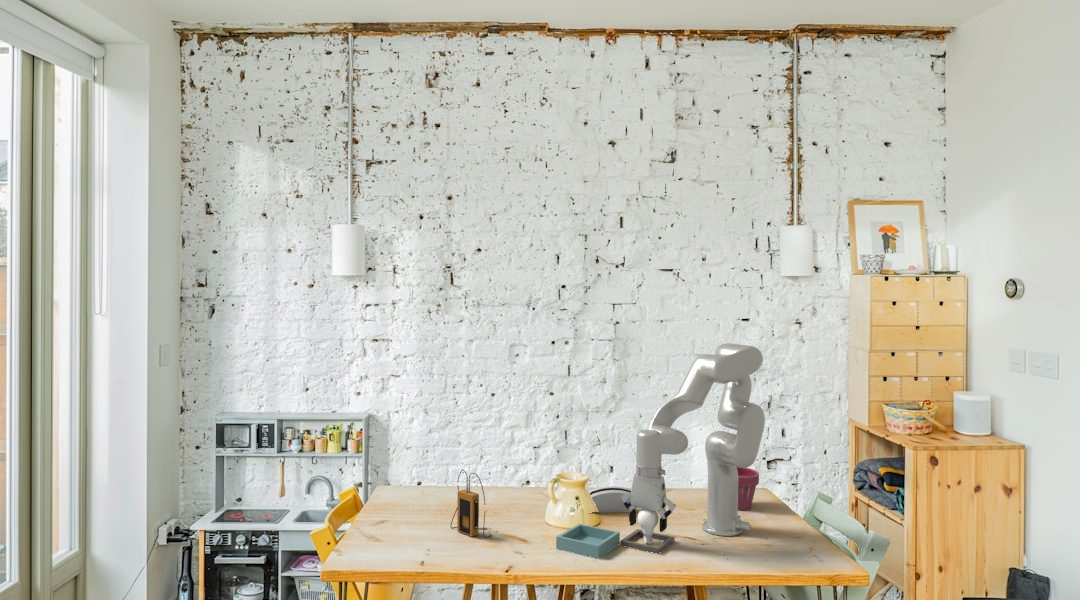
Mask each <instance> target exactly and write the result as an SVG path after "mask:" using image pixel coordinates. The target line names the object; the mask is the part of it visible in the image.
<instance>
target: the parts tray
mask: <svg viewBox="0 0 1080 600" xmlns="http://www.w3.org/2000/svg"><path fill="white" fill-rule="evenodd" d="M620 533H621V532H620V531H615V530H610V529H607V528H601V527H598V526H592V525H588V524H583V523H578V524H576V525H575V526H573V527H570V528H569V529H567V530H566V531H564V532H562V533H560V534H558V535H556V537H555V538H556V539H555V540H556V543H555V544H556V547H555V548H556V549H557V550H559V551H560V550H561V551H564V550H565V552H569V553H572V552H573V554H576V553H577V555H581V556H585V555H586V557H589V556H591V557H590V558H593V557H594V559H597V558H599V559H600V558H602V556H604V555H605V554H607V553H609V552H610V551H612V550H613V549H614V547H615V546H616V547H618V546H619V545H620V541H621V536H620V535H621V534H620ZM618 544H619V545H618ZM616 547H615V548H616ZM611 549H612V550H611ZM608 551H609V552H608Z"/></svg>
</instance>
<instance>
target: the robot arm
mask: <svg viewBox="0 0 1080 600" xmlns="http://www.w3.org/2000/svg"><path fill="white" fill-rule="evenodd" d="M763 358H764V357H763V354H762V351H761V350H760V349H759V348H757V347H755V346H753V345H746V344H738V343H730V342H729V343H728V342H727V343H722V344H720V345H719V346H717V347H716V349H715V354H708V353H705V354H703V353H702V354H699V355H697V356H696V357H695V358H694V360H693V361H692V364H691V365H690V367H689V370H688V372H687V373H686V375H685V378H684V379H683V382H682V383H681V385H680V387H679V389H678V391H677V392H676V394H675V395H674V396H672V397H671V398H670V399H669V400H667V401H666V402H665V403H664V404H663V405H662V406H661V407H659V409H658V410H657V411H656V413H654V414H655V415H654V416H653V418H652V420H651V421H650V425H649V426H648V429H640V430H638V432H637V434H636V453H635V454H636V458H635V460H636V462H635V464H636V465H635V466H636V467H635V468H636V469H635V474H633V479H632V484H631V489H630V490H631V492H630V493H627V494H624V495H622V496H621V497H622V500H623V502H624V505H625V507H626V508H627V509H628V512H627V513H628V521H629V526H634V525H636V524H637V510H636V508H638V509H640V510H641V509H646V510H651V511H656V512H657V514H658V515H659V516H660V518H659V529H658V530H659V532H660V533H662V532H664V531H665V530H666V529H667V527H668V517H669V516H670V515H671V514H672V513H674V511H675V508H676V504H675V503H674V502H673V501H671V500H670V499H668V497H667V489H666V482H665V477H664V476H663V475H666V469H663V466H662V455H672V456H673V455H675V456H676V455H680V454H682V453H684V452H685V451H686V450H687V448H688V446H689V440H688V437H687V435H686V434H685V433H684V432H683V431H680V430H678V429H675V428H672V426H673V424H674V423H675V422H676V421H677V419H678V418H680V417H682V416H684V415H685V414H688V413H691V412H693V411H696V410H698V409H700V408H702V407H703V405H704V403H705V402H706V399H707V397H708V395H709V393H710V391H711V389H712V387H713V386H714V383H715V384H722V385H724V387H723V390H722V391H723V392H722V395H721V399H720V402H719V406H718V411H717V421H718V423H719V424H720V425H721V426H723V427H725V428H728V429H730V430H734V431H736V433H732V432H729V431H726V430H725V431H724V430H716V431H712V432H711V433H709V434H708V436H707V437H706V440H705V444H704V450H705V456H706V462H707V463H706V464H707V509H706V510H707V511H706V512H707V515H706V516H707V519H706V521H704V522H702V525H701V526H702V527H701V528H702V530H704V531H705V532H707V533H709V534H711V535H715V536H716V535H717V536H722V537H725V536H726V537H730V536H731V537H733V536H738V535H740V534H742V533H743V530H746V531H751V527H752V524H750V522H749V521H745V520H744V521H743V520H742V519H741V515H739V513H738V512H739V510H738V471H737V467H740V468H749V467H751V466H752V465H753V464H754V462H756V460H757V459H756V458H757V456H758V453H759V449H760V446H761V441H762V437H763V432H764V429H765V425H766V417H765V413H764V410H763V409H762V407H761V406H759V404H757V403H753V402H750V398H751V394H752V388H753V386H752V379H751V376H750V375H752V374H754V373H756V372H757V371H758V370H759V369H760V368H761V367H762V365H763V362H764V361H763V360H764V359H763ZM629 497H631V503H630V502H629V501H628V498H629ZM631 504H632V505H631ZM666 507H668V510H667V509H666Z"/></svg>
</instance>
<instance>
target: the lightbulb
mask: <svg viewBox="0 0 1080 600" xmlns="http://www.w3.org/2000/svg"><path fill="white" fill-rule="evenodd" d="M636 519H637V523H638V524H639V526H640V528H641V530H642V532H643V535H644V536H642V537H643V540H642V541H643V544H644V543H645V545H650V544H652V543H653V538H652V534H653V532H654V530H655V528H656V527H657V526H658V523H659V521H660V518H659V513H658V512H657V511H651V510H646V509H641V508H640V510H639V512H638V513H637V516H636Z"/></svg>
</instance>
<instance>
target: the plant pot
mask: <svg viewBox="0 0 1080 600" xmlns="http://www.w3.org/2000/svg"><path fill="white" fill-rule="evenodd" d="M737 471H738V511H748V510H750V509H751V508H752V504H753V500H754V496H755V493H756V492H755V491H756V487H757V486H758V485H759V483H760V474H759V472H758V471H757V470H755V469H753V468H749V467H747V468H740V467H737Z"/></svg>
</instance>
